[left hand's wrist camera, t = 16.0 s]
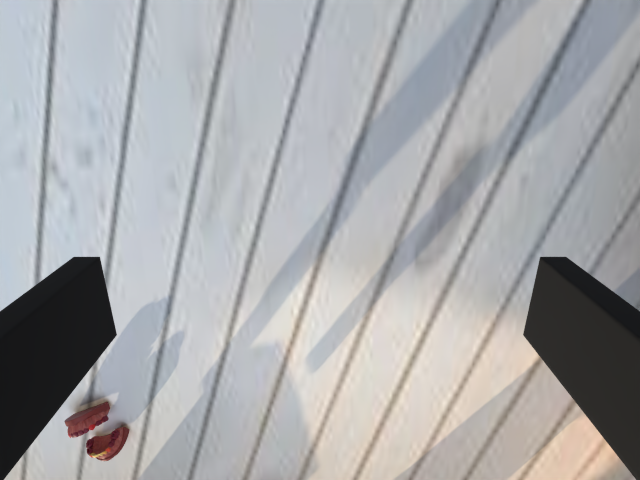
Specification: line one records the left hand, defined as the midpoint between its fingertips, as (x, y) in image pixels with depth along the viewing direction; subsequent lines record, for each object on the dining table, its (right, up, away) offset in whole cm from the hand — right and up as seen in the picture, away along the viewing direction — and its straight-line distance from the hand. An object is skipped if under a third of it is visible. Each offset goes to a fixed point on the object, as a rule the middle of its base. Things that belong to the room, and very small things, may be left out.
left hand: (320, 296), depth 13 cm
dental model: (-30, -24, +45) cm, 59 cm away
